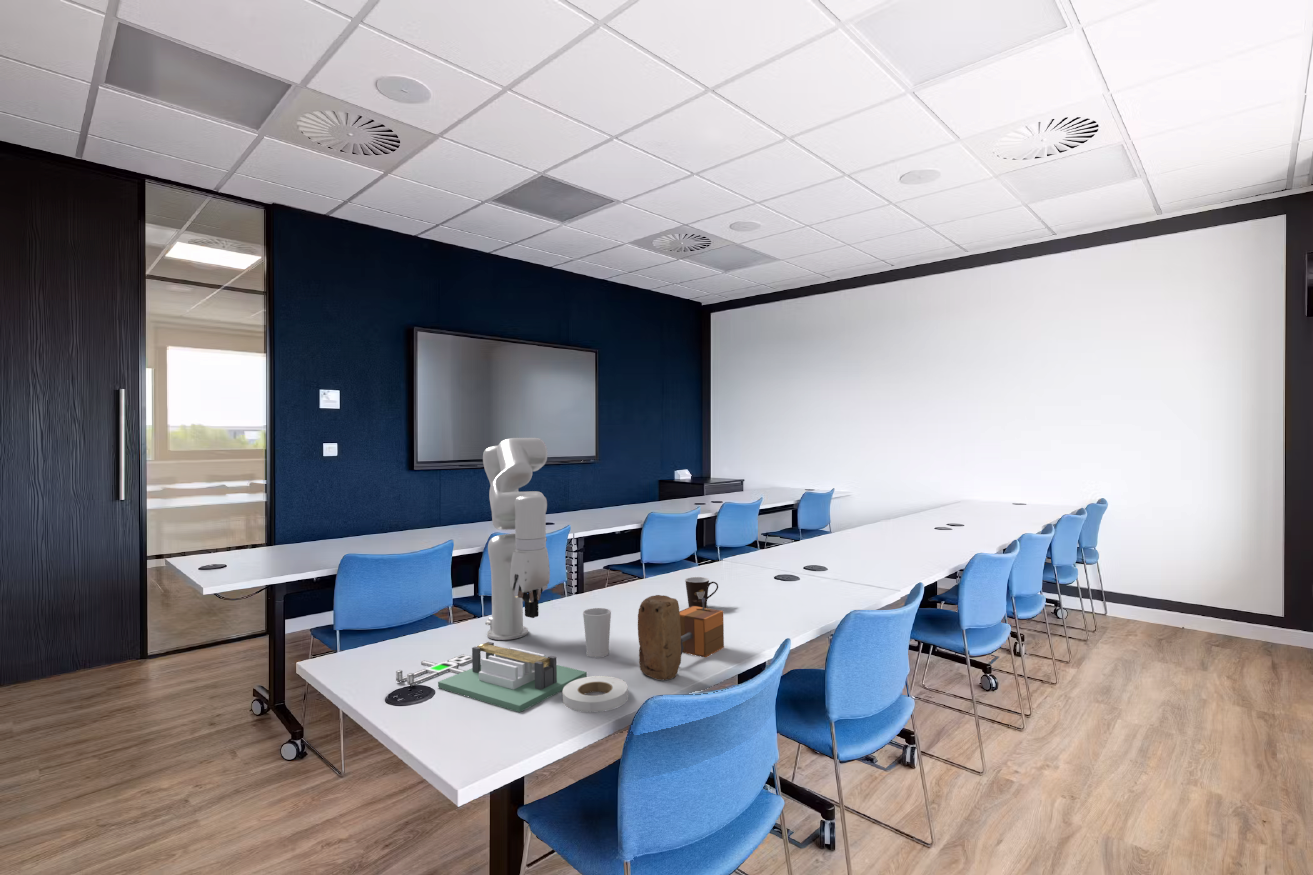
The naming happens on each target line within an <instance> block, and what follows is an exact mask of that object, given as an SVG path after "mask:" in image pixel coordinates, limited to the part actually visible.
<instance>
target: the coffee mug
mask: <svg viewBox="0 0 1313 875" xmlns="http://www.w3.org/2000/svg"><path fill="white" fill-rule="evenodd" d="M684 582H685V588H686V596H687V605H688V608H689V607H691V606H697V607H703V602H702V598H705V602H704V608H707V607H708V606H707V604H708V600H709V599H710V598H711V597H712V596H714V595H715V594H716V593H717V591H718V590H719V584H718V583H717V582H716V581H710V579H709V578H707V577H705V576H704V577H701V576H695V577H693V576H692V577H691V576H690V577H687V578H685V579H684ZM712 584H715V585H716V588H715V590H714V591H713V592H712V593H711V594H708V593H709V588H710V585H712Z"/></svg>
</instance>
